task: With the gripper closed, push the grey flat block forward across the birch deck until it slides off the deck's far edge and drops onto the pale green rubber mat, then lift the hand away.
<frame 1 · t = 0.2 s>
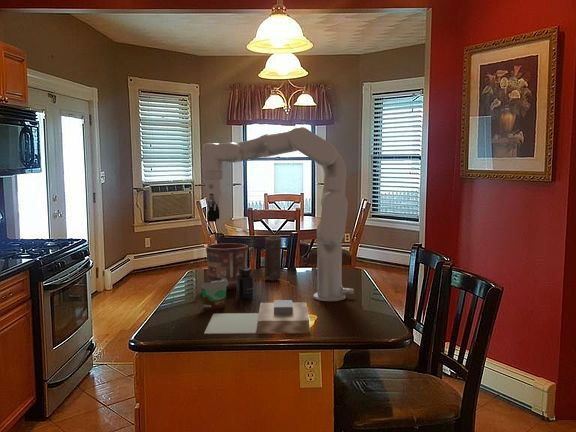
hand: (213, 220, 204), 31 cm above the countertop, tool pointing down, fingers open, 9 cm apart
grey flat block: (283, 311, 174), point 4 cm above the countertop, touching deck
pottery: (228, 287, 228), on the countertop
food container: (218, 307, 195), on the countertop
supplement bottle: (245, 299, 207), on the countertop
mat: (233, 323, 175), on the countertop
candle: (272, 281, 240), on the countertop
deck: (283, 322, 175), on the countertop
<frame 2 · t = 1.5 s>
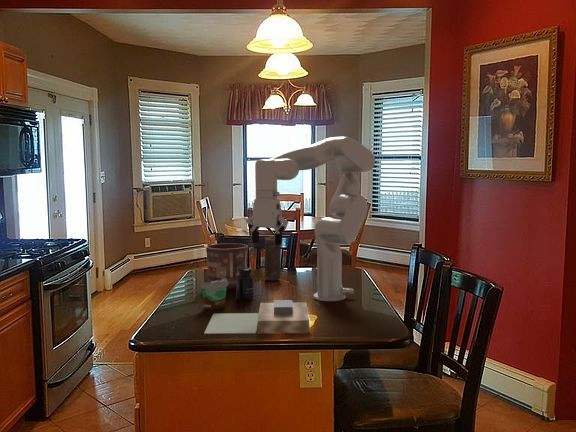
hand: (267, 243, 186), 24 cm above the countertop, tool pointing down, fingers open, 9 cm apart
nothing on the countertop moved.
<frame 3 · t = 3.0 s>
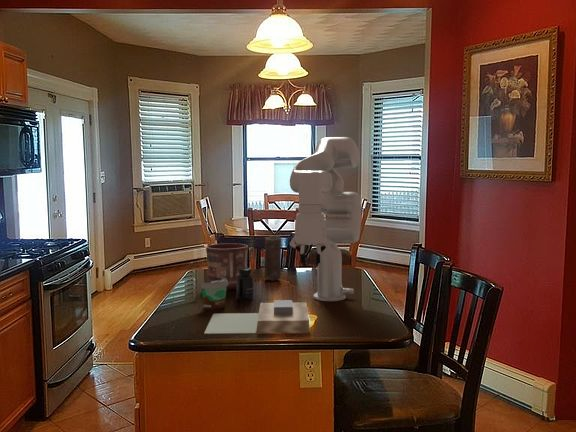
hand: (310, 265, 173), 19 cm above the countertop, tool pointing down, fingers open, 3 cm apart
nothing on the countertop moved.
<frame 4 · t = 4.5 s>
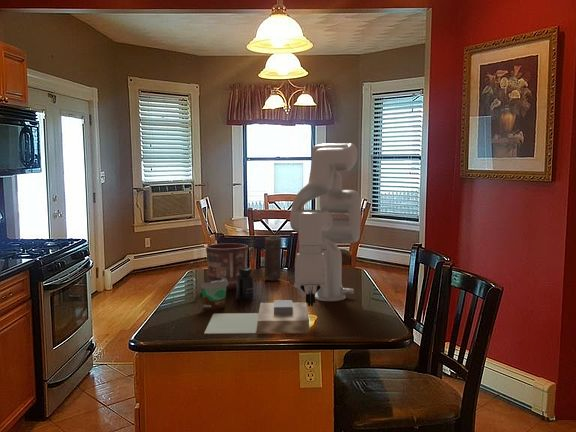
hand: (310, 305, 174), 6 cm above the countertop, tool pointing down, fingers closed
nothing on the countertop moved.
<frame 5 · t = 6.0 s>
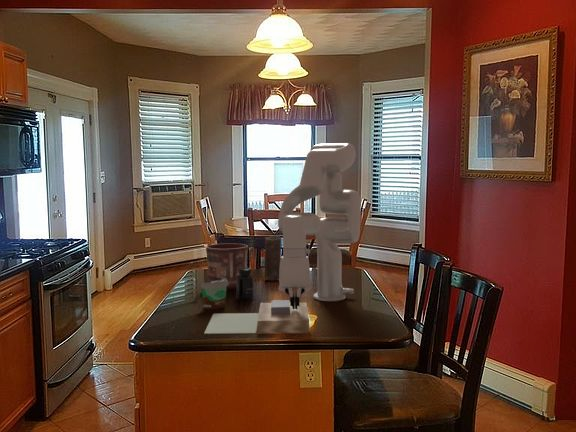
hand: (294, 308, 174), 5 cm above the countertop, tool pointing down, fingers closed
grey flat block: (280, 311, 174), point 4 cm above the countertop, touching deck, gripper
everything else where it was.
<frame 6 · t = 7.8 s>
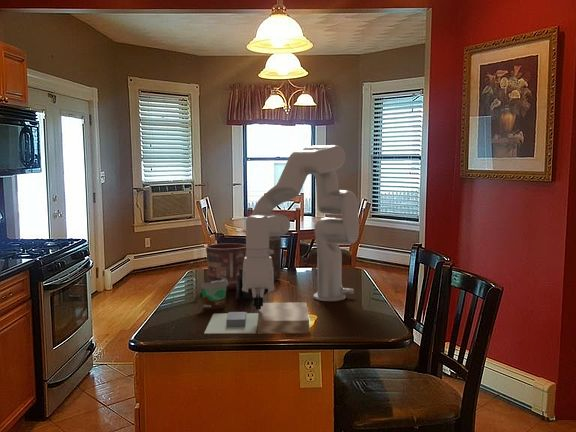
hand: (258, 308, 174), 5 cm above the countertop, tool pointing down, fingers closed
grey flat block: (236, 315, 174), point 3 cm above the countertop, tilted 180°, touching mat
everything else where it was.
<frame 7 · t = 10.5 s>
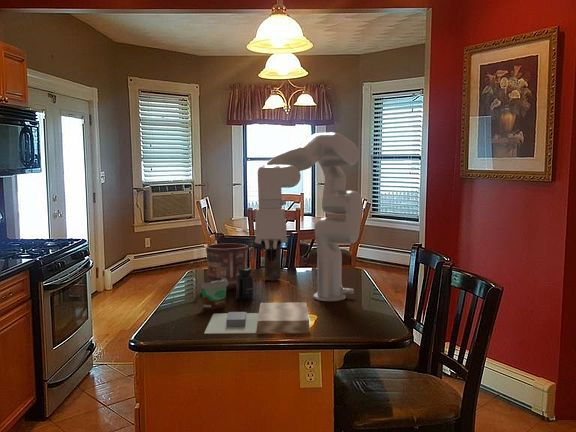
hand: (271, 260, 173), 21 cm above the countertop, tool pointing down, fingers closed
nothing on the countertop moved.
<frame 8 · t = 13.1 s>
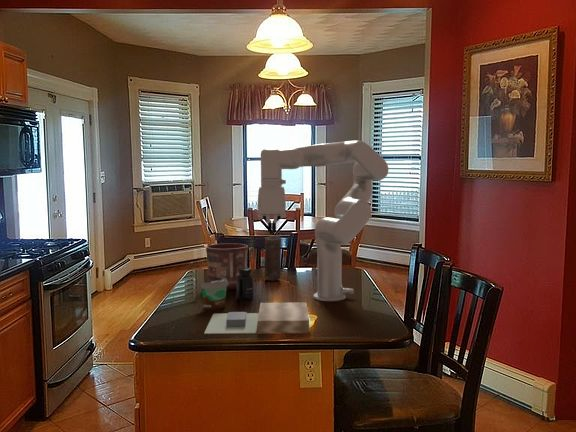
hand: (271, 233, 193), 27 cm above the countertop, tool pointing down, fingers closed
nothing on the countertop moved.
at the end: grey flat block inside the target area on the mat (1.3 cm from its centre), point 2.8 cm above the mat's base; grey flat block touching mat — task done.
